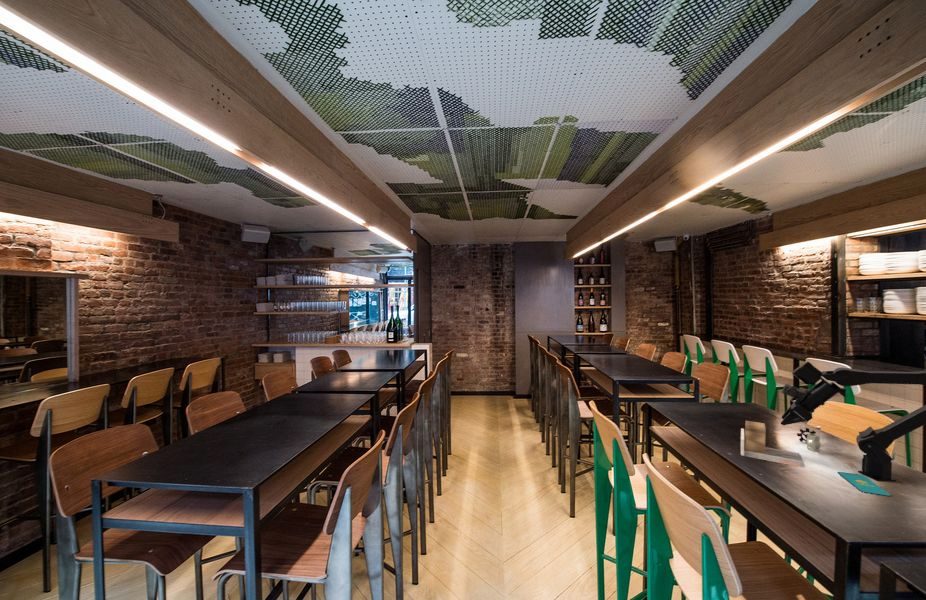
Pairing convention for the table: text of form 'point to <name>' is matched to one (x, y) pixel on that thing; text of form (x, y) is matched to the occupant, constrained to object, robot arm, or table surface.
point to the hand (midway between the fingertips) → (781, 421)
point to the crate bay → (776, 451)
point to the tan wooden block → (755, 437)
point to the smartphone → (863, 484)
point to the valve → (810, 440)
